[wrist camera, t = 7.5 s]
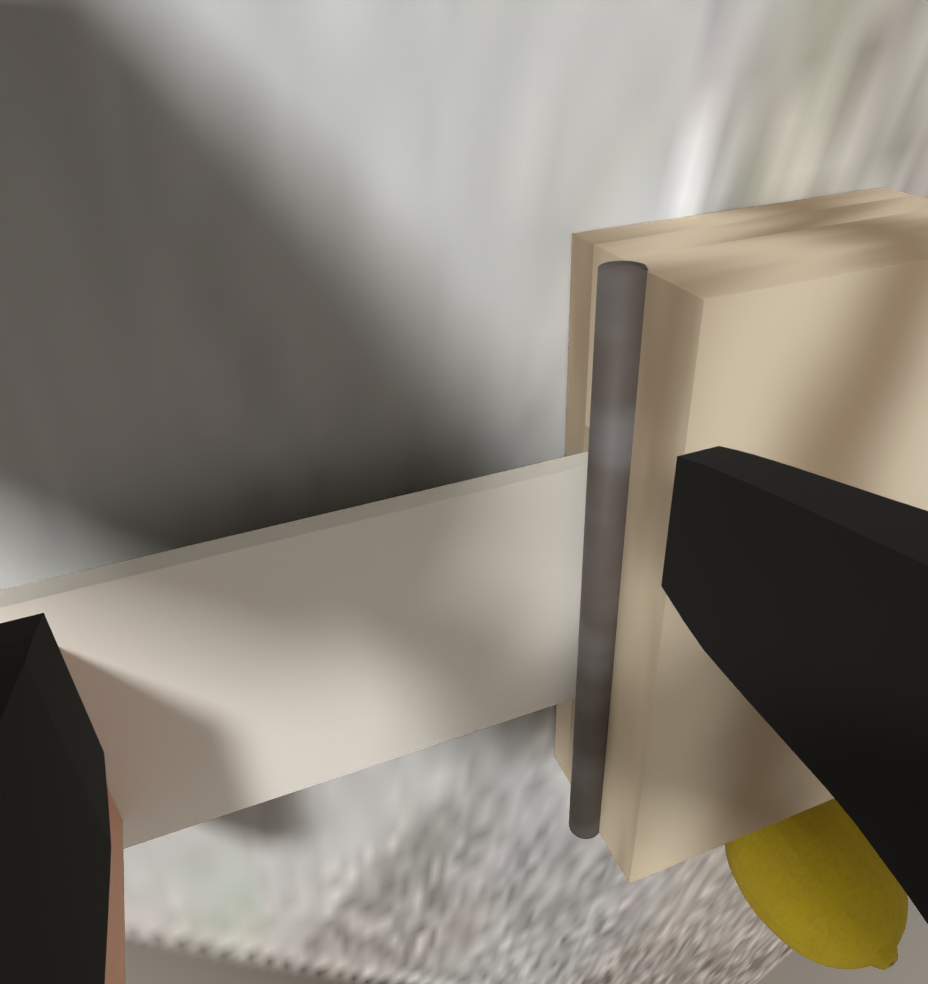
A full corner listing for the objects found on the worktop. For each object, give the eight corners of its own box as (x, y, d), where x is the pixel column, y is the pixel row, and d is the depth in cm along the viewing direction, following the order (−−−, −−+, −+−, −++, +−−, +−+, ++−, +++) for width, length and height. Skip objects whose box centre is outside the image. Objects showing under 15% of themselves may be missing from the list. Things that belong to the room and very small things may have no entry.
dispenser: (883, 187, 20) (1069, 232, 16) (766, 681, 30) (866, 784, 26) (540, 238, 18) (664, 307, 14) (533, 764, 27) (606, 893, 23)
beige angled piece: (624, 443, 20) (773, 569, 15) (606, 670, 24) (718, 821, 20) (-39, 599, 16) (-97, 836, 11) (83, 841, 20) (76, 1082, 16)
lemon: (774, 810, 36) (917, 985, 29) (672, 840, 34) (803, 1035, 27) (814, 722, 33) (981, 893, 27) (706, 749, 31) (860, 941, 25)
